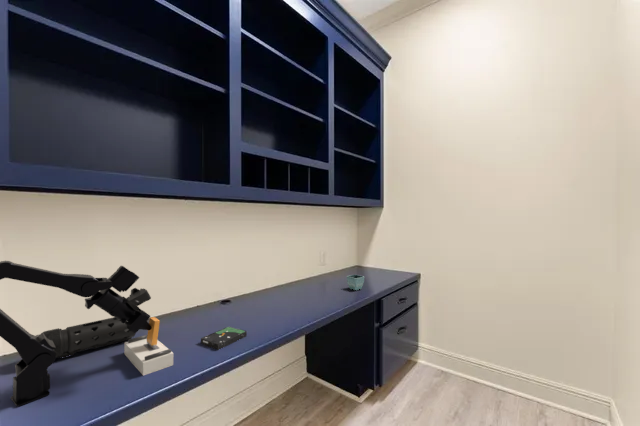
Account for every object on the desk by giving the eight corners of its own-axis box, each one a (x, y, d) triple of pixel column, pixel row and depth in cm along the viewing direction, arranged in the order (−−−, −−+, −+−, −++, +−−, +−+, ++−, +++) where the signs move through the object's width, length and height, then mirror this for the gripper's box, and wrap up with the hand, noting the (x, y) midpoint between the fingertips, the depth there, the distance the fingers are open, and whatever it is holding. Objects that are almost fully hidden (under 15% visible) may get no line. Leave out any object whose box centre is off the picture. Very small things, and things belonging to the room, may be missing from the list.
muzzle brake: (136, 342, 115) (136, 315, 115) (37, 370, 94) (37, 337, 94) (128, 335, 122) (129, 310, 122) (33, 360, 101) (34, 329, 101)
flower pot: (355, 292, 194) (356, 278, 194) (346, 289, 201) (346, 275, 201) (364, 289, 200) (364, 276, 200) (354, 287, 207) (355, 274, 207)
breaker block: (143, 375, 92) (143, 359, 92) (124, 354, 106) (124, 339, 106) (173, 365, 99) (173, 349, 99) (152, 345, 112) (152, 332, 112)
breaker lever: (151, 349, 100) (155, 321, 101) (145, 343, 104) (149, 317, 105) (156, 348, 102) (160, 321, 102) (150, 342, 106) (154, 316, 106)
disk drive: (219, 352, 110) (247, 337, 123) (219, 344, 110) (247, 330, 123) (200, 345, 115) (229, 331, 128) (200, 338, 115) (229, 325, 128)
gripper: (143, 288, 92) (179, 314, 101) (125, 278, 105) (158, 302, 113) (112, 319, 87) (153, 345, 95) (98, 305, 99) (135, 329, 108)
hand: (150, 328), depth 103 cm, fingers closed, pressing on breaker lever
